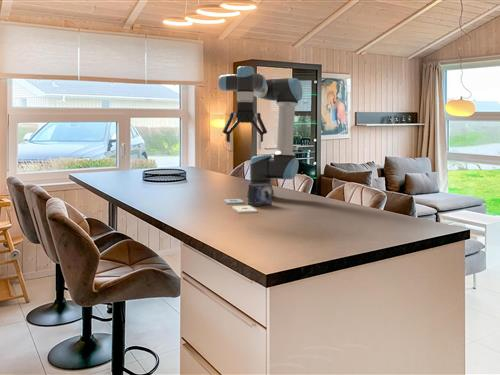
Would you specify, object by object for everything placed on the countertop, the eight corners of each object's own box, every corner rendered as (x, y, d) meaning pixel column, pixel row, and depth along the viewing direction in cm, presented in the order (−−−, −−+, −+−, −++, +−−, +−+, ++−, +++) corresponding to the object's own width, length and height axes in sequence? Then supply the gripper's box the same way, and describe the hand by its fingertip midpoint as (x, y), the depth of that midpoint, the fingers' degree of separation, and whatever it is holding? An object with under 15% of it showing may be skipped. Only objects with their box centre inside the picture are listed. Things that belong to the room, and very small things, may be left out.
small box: (253, 206, 233) (253, 185, 232) (247, 204, 239) (247, 184, 238) (272, 205, 238) (272, 184, 237) (265, 203, 244) (266, 183, 242)
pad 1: (239, 200, 252) (239, 198, 252) (244, 203, 243) (244, 201, 242) (223, 201, 250) (223, 199, 250) (227, 204, 240) (227, 202, 240)
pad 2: (249, 207, 232) (249, 205, 232) (257, 212, 219) (257, 210, 219) (231, 207, 230) (231, 206, 230) (238, 213, 216) (238, 211, 216)
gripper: (269, 102, 220) (268, 148, 223) (216, 101, 214) (216, 148, 217) (274, 102, 213) (273, 149, 216) (219, 100, 207) (219, 149, 210)
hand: (244, 149), depth 216 cm, fingers open, 13 cm apart
